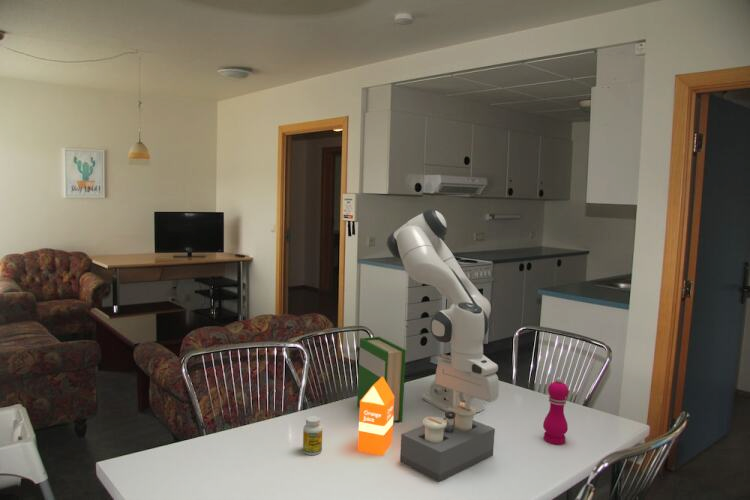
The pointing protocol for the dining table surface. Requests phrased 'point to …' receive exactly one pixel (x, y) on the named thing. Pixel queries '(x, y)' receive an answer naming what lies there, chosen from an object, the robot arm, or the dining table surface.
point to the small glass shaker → (449, 421)
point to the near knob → (434, 429)
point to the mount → (447, 450)
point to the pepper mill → (556, 413)
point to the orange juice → (376, 419)
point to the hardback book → (382, 370)
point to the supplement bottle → (312, 436)
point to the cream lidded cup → (463, 417)
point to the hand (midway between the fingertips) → (464, 407)
